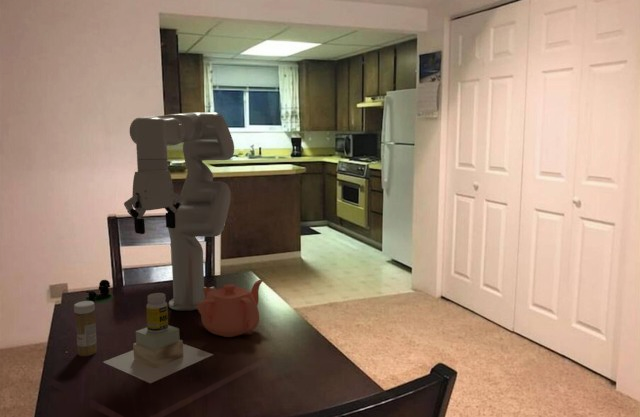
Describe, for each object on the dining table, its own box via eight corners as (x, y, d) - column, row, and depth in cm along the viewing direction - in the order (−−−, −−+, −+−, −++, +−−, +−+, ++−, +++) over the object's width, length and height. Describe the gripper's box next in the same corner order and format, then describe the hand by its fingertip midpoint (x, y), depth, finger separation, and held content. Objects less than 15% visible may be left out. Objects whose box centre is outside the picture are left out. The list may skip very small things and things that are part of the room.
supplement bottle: (162, 334, 121) (160, 299, 120) (143, 332, 122) (141, 297, 121) (172, 326, 126) (170, 292, 125) (154, 325, 127) (152, 291, 126)
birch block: (162, 348, 130) (161, 333, 130) (183, 356, 126) (182, 340, 125) (134, 359, 124) (133, 343, 123) (155, 368, 119) (154, 351, 119)
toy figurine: (75, 302, 170) (74, 284, 169) (98, 293, 179) (96, 276, 179) (101, 305, 167) (99, 287, 166) (122, 296, 176) (121, 279, 175)
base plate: (166, 341, 137) (165, 337, 137) (213, 358, 127) (213, 354, 127) (102, 366, 123) (102, 361, 123) (150, 387, 113) (150, 383, 112)
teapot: (204, 323, 150) (203, 277, 148) (263, 321, 152) (263, 275, 150) (197, 345, 135) (195, 295, 133) (263, 343, 136) (262, 293, 134)
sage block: (161, 334, 129) (160, 322, 129) (179, 340, 125) (179, 328, 125) (136, 343, 123) (135, 331, 123) (154, 350, 119) (154, 338, 119)
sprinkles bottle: (74, 356, 128) (70, 303, 126) (92, 350, 132) (88, 298, 130) (83, 361, 125) (79, 307, 123) (101, 355, 129) (98, 302, 127)
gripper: (170, 163, 146) (173, 224, 148) (114, 167, 132) (118, 234, 134) (188, 164, 141) (191, 227, 144) (132, 168, 128) (136, 237, 130)
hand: (155, 230), depth 139 cm, fingers open, 9 cm apart
